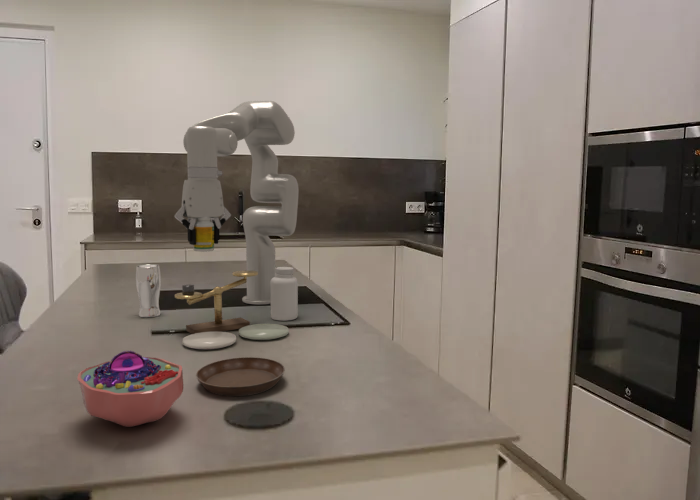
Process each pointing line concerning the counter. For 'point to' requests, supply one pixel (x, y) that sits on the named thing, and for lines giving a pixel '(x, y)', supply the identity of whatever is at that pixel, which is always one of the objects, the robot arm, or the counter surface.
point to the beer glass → (148, 289)
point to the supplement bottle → (204, 235)
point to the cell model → (131, 388)
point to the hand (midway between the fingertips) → (203, 243)
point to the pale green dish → (263, 331)
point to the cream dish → (209, 340)
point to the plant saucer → (240, 376)
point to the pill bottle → (284, 295)
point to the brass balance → (215, 305)
